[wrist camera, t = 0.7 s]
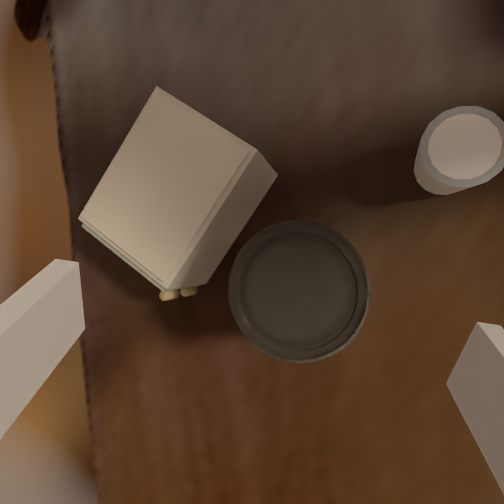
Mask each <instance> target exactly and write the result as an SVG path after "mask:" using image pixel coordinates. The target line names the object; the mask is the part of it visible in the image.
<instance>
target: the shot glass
mask: <svg viewBox="0 0 504 504" xmlns="http://www.w3.org/2000/svg"><path fill="white" fill-rule="evenodd" d="M503 167H504V121H502V120H501V119H500V118H499V117H498V116H497V115H496V114H495V113H494V112H492V111H489V110H487V109H484V108H481V107H479V106H458V107H456V108H453V109H450V110H447V111H445V112H442V113H441V114H440V115H439V116H437V117H436V118H435V119H434V120H433V121H431V122H430V123H429V124H428V126H427V128H426V130H425V132H424V134H423V135H422V137H421V140H420V144H419V147H418V151H417V155H416V159H415V164H414V174H415V177H416V180H417V182H418V183H419V184H420V185H421V186H422V187H423V189H424V190H426V191H429V192H431V193H433V194H437V195H449V194H452V193H455V192H458V191H461V190H464V189H467V188H470V187H473V186H476V185H479V184H482V183H485V182H487V181H489V180H490V179H491V178H493V177H494V176H495V175H497V174H498V173H499V172H500V171H501V170H502V169H503Z"/></svg>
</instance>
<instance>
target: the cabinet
mask: <svg viewBox="0 0 504 504" xmlns="http://www.w3.org/2000/svg"><path fill="white" fill-rule="evenodd" d="M277 176H278V174H277V173H276V172H275V171H274V170H273V168H272V167H271V166H270V165H269V163H268V162H267V161H266V160H265V158H264V157H263V156H262V155H261V153H260V152H259V151H258V150H257V149H255V148H254V147H252V146H251V145H249V144H248V143H246V142H244V141H243V140H241V139H240V138H238V137H236V136H235V135H233V134H232V133H230V132H229V131H227V130H225V129H224V128H222V127H221V126H219V125H217V124H216V123H214V122H213V121H211V120H210V119H208V118H206V117H205V116H203V115H202V114H200V113H198V112H197V111H195V110H194V109H192V108H191V107H189V106H187V105H186V104H184V103H183V102H181V101H179V100H178V99H176V98H175V97H173V96H172V95H170V94H168V93H167V92H165V91H164V90H162V89H160V88H159V87H157V86H156V88H155V90H154V91H153V93H152V95H151V96H150V98H149V100H148V101H147V103H146V105H145V106H144V108H143V110H142V111H141V113H140V115H139V117H138V118H137V120H136V122H135V123H134V125H133V127H132V128H131V130H130V132H129V133H128V135H127V137H126V138H125V140H124V142H123V143H122V145H121V147H120V148H119V150H118V152H117V154H116V155H115V157H114V159H113V160H112V162H111V164H110V165H109V167H108V169H107V170H106V172H105V174H104V175H103V177H102V179H101V180H100V182H99V184H98V185H97V187H96V189H95V191H94V192H93V194H92V196H91V197H90V199H89V201H88V202H87V204H86V206H85V207H84V209H83V211H82V212H81V214H80V216H79V217H78V219H79V220H80V221H82V222H83V224H82V227H83V228H84V229H85V230H87V231H88V232H89V233H90V234H92V235H93V236H94V237H95V238H97V239H98V240H99V241H100V242H102V243H103V244H104V245H105V246H107V247H108V248H109V249H110V250H112V251H113V252H114V253H115V254H117V255H118V256H119V257H120V258H122V259H123V260H124V261H125V262H127V263H128V264H129V265H130V266H132V267H133V268H134V269H135V270H137V271H138V272H139V273H140V274H142V275H143V276H144V277H145V278H147V279H148V280H149V281H150V282H152V283H153V284H154V285H155V286H157V287H158V288H159V289H160V290H162V291H161V292H160V294H159V297H160V299H161V300H163V301H166V300H171V299H176V298H178V297H179V296H180V291H179V290H178V289H181V295H182V296H184V297H186V296H190V295H195V294H197V292H198V288H197V287H198V286H200V285H202V284H207V282H208V281H209V279H210V278H211V276H212V275H213V273H214V272H215V270H216V268H217V267H218V265H219V264H220V262H221V261H222V259H223V258H224V256H225V255H226V253H227V252H228V250H229V249H230V247H231V246H232V244H233V243H234V241H235V240H236V238H237V237H238V235H239V234H240V232H241V231H242V229H243V228H244V226H245V225H246V223H247V222H248V220H249V219H250V217H251V216H252V214H253V213H254V211H255V210H256V208H257V207H258V205H259V204H260V202H261V201H262V199H263V198H264V196H265V194H266V193H267V191H268V190H269V188H270V187H271V185H272V184H273V182H274V181H275V179H276V178H277Z"/></svg>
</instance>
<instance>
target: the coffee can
mask: <svg viewBox="0 0 504 504" xmlns="http://www.w3.org/2000/svg"><path fill="white" fill-rule="evenodd" d="M228 298H229V305H230V309H231V312H232V315H233V318H234V320H235V322H236V324H237V326H238V328H239V329H240V331H241V332H242V334H243V335H244V336H245V337H246V338H247V339H248V340H249V342H250V343H251V344H253V345H254V346H255V347H256V348H257V349H259V350H260V351H262V352H263V353H265V354H267V355H269V356H271V357H274V358H276V359H279V360H282V361H287V362H292V363H309V362H315V361H319V360H323V359H325V358H328V357H330V356H332V355H334V354H336V353H338V352H339V351H341V350H342V349H343V348H345V347H346V346H347V345H348V344H349V343H350V342H351V341H352V340H353V339H354V338H355V337H356V335H357V334H358V332H359V331H360V329H361V328H362V326H363V323H364V321H365V319H366V316H367V314H368V310H369V305H370V281H369V276H368V273H367V270H366V267H365V264H364V262H363V260H362V258H361V257H360V255H359V253H358V252H357V251H356V249H355V248H354V247H353V246H352V244H351V243H350V242H349V241H348V240H347V239H346V238H344V237H343V236H342V235H341V234H339V233H338V232H337V231H335V230H333V229H331V228H329V227H327V226H325V225H323V224H320V223H316V222H312V221H305V220H288V221H283V222H279V223H275V224H272V225H270V226H268V227H266V228H264V229H262V230H261V231H259V232H258V233H256V234H255V235H254V236H252V237H251V238H250V239H249V240H248V241H247V242H246V243H245V244H244V245H243V247H242V248H241V250H240V251H239V253H238V254H237V256H236V258H235V260H234V263H233V265H232V268H231V272H230V275H229V282H228Z"/></svg>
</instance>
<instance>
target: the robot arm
mask: <svg viewBox="0 0 504 504" xmlns="http://www.w3.org/2000/svg"><path fill="white" fill-rule="evenodd" d="M84 329H85V323H84V313H83V303H82V292H81V282H80V272H79V262H73V261H67V260H60V259H55V260H54V261H52V262H51V263H50V264H49V265H48V266H46V267H45V268H44V269H43V270H42V271H40V272H39V273H38V274H37V275H36V276H34V277H33V278H32V279H31V280H30V281H28V282H27V283H26V284H25V285H24V286H22V287H21V288H20V289H19V290H18V291H16V292H15V293H14V294H13V295H12V296H10V297H9V298H8V299H7V300H6V301H4V302H3V303H2V304H1V305H0V439H1V438H2V437H3V435H4V434H5V433H6V431H7V430H8V429H9V427H10V426H11V425H12V424H13V422H14V421H15V420H16V418H17V417H18V416H19V414H20V413H21V412H22V411H23V409H24V408H25V407H26V405H27V404H28V403H29V401H30V400H31V399H32V397H33V396H34V395H35V393H36V392H37V391H38V390H39V388H40V387H41V386H42V384H43V383H44V382H45V380H46V379H47V378H48V377H49V375H50V374H51V373H52V371H53V370H54V369H55V367H56V366H57V365H58V363H59V362H60V361H61V360H62V358H63V357H64V356H65V354H66V353H67V352H68V350H69V349H70V348H71V346H72V345H73V344H74V343H75V341H76V340H77V339H78V337H79V336H80V335H81V333H82V332H83V331H84ZM446 385H447V387H448V388H449V390H450V392H451V394H452V396H453V398H454V400H455V402H456V404H457V406H458V408H459V410H460V412H461V413H462V415H463V417H464V419H465V421H466V423H467V425H468V427H469V429H470V431H471V433H472V435H473V437H474V439H475V440H476V442H477V444H478V446H479V448H480V450H481V452H482V454H483V456H484V458H485V460H486V462H487V464H488V465H489V467H490V469H491V471H492V473H493V475H494V477H495V479H496V481H497V483H498V485H499V487H500V489H501V490H502V492H503V494H504V329H503V328H502V327H501V326H500V325H494V324H487V323H480V322H477V323H476V325H475V327H474V329H473V331H472V333H471V335H470V337H469V339H468V341H467V343H466V345H465V347H464V349H463V351H462V353H461V355H460V357H459V359H458V361H457V362H456V364H455V366H454V368H453V370H452V372H451V374H450V376H449V378H448V380H447V382H446Z"/></svg>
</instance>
